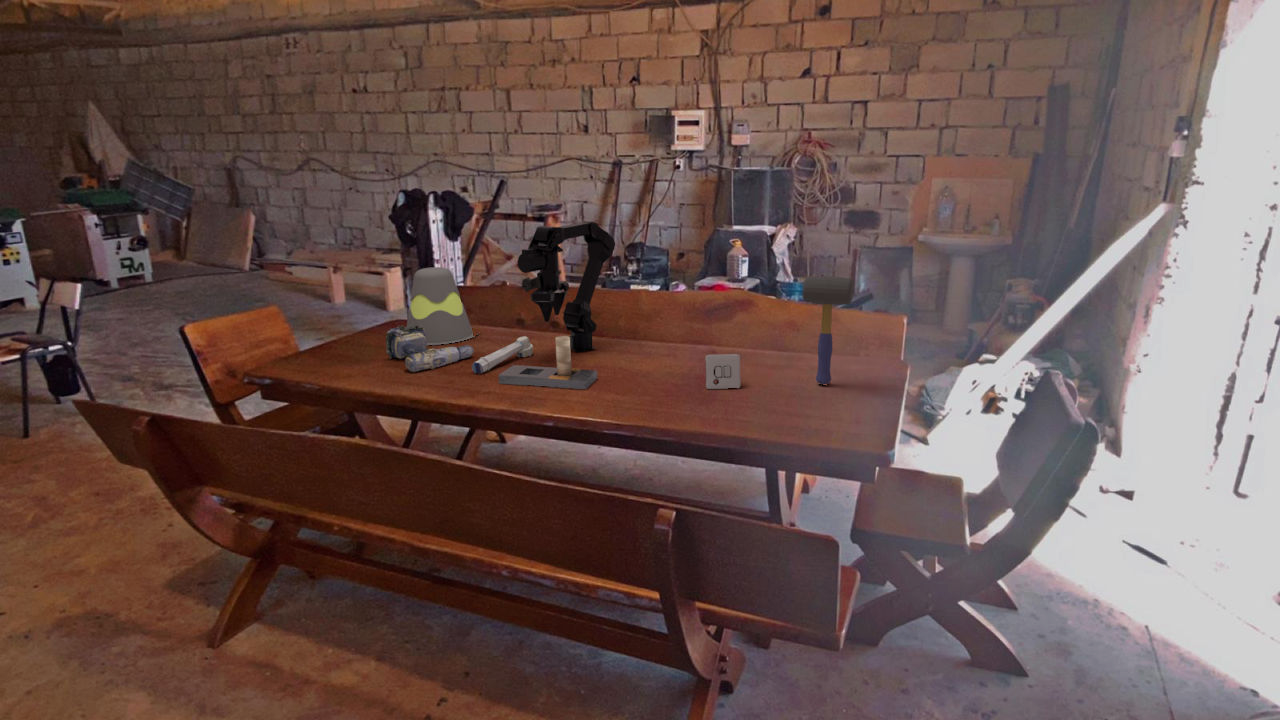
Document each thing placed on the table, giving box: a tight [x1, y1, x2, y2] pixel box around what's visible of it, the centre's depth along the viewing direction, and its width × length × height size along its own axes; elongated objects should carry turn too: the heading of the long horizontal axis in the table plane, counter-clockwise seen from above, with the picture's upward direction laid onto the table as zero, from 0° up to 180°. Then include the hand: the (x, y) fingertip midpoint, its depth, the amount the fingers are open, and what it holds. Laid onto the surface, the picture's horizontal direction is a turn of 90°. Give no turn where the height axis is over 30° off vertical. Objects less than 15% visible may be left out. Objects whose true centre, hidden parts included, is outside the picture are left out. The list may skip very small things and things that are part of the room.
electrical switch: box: [704, 353, 741, 390], centre depth 204 cm, size 9×5×9 cm, turn 90°
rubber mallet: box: [802, 275, 854, 384], centre depth 200 cm, size 12×8×30 cm, turn 67°
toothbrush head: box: [471, 335, 534, 375], centre depth 231 cm, size 5×7×25 cm
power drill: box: [385, 324, 474, 373], centre depth 235 cm, size 22×23×11 cm
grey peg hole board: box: [498, 364, 598, 390], centre depth 212 cm, size 26×10×3 cm, turn 74°
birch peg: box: [554, 335, 572, 377], centre depth 210 cm, size 4×4×13 cm
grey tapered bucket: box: [405, 266, 479, 347], centre depth 263 cm, size 28×28×24 cm
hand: (551, 318), depth 231 cm, fingers open, 9 cm apart
